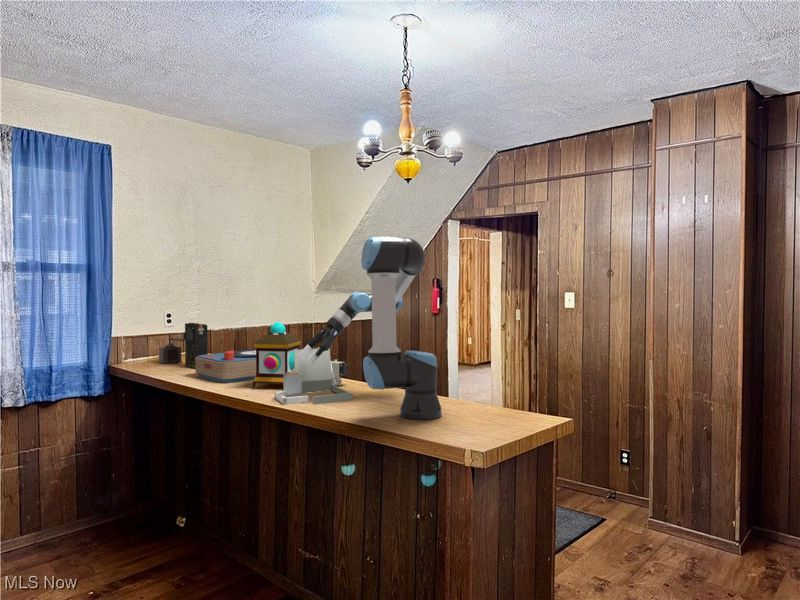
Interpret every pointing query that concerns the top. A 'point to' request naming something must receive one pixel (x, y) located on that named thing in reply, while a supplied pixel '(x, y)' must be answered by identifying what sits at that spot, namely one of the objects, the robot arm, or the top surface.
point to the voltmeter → (195, 342)
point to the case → (319, 377)
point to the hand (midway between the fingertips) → (304, 359)
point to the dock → (290, 398)
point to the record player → (227, 366)
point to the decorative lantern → (275, 355)
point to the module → (292, 384)
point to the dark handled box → (170, 352)
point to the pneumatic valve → (339, 371)
